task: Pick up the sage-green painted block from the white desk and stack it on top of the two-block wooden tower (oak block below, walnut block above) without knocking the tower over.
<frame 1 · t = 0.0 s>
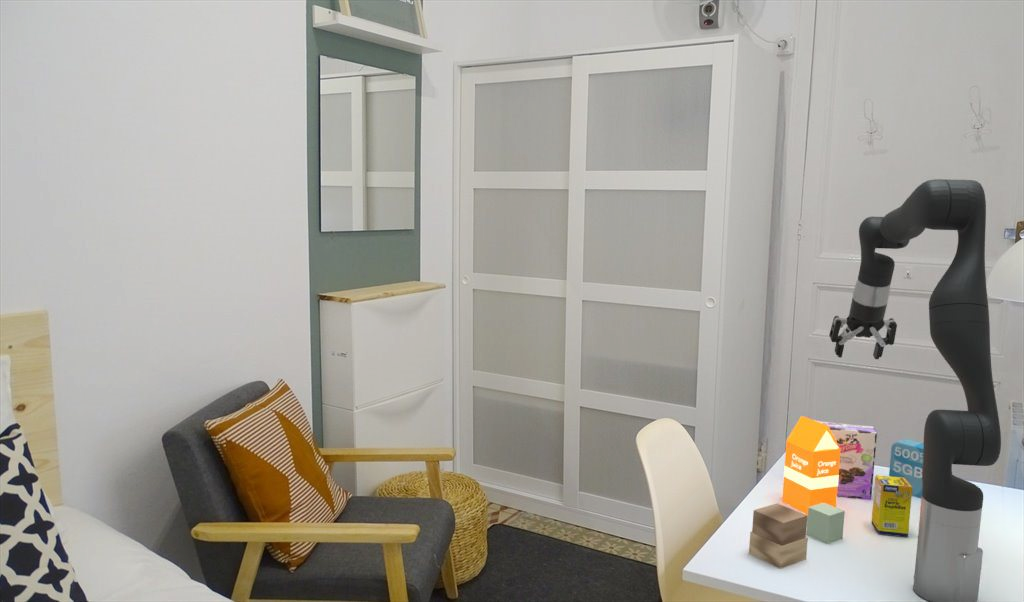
hand: (857, 356, 191), 31 cm above the table, tool tilted 20°, fingers open, 8 cm apart
orange juice: (808, 507, 178), on the table
data package: (916, 494, 188), on the table
walnut block: (778, 535, 152), point 4 cm above the table
candy box: (838, 493, 187), on the table
oak block: (777, 557, 153), on the table
green block: (824, 536, 162), on the table
supplement box: (889, 531, 166), on the table
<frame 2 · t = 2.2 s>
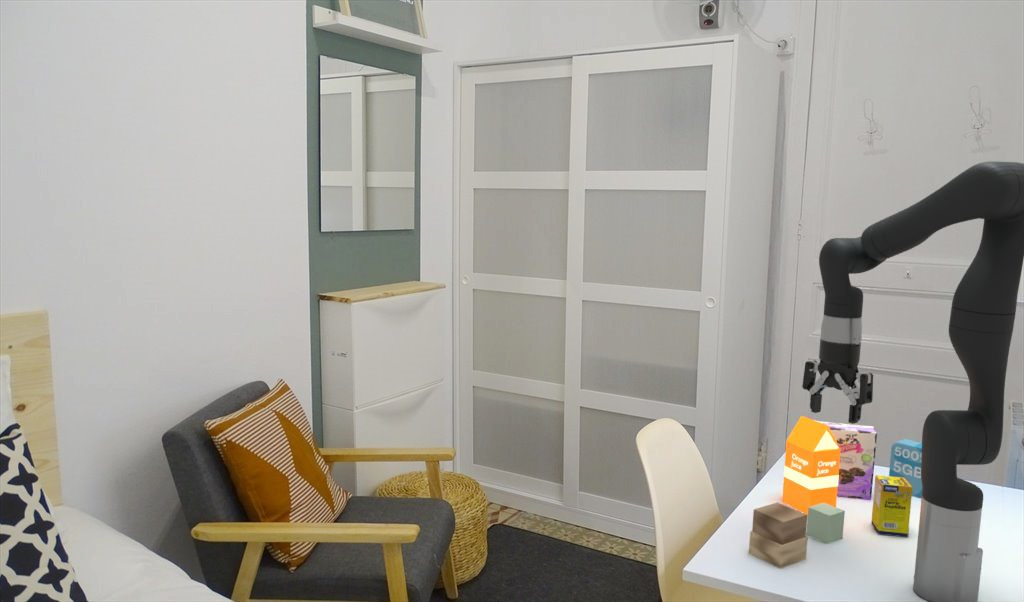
hand: (834, 417, 159), 25 cm above the table, tool pointing down, fingers open, 8 cm apart
walnut block: (778, 534, 152), point 4 cm above the table, touching oak block
oak block: (777, 556, 153), on the table, touching walnut block
everything else where it was.
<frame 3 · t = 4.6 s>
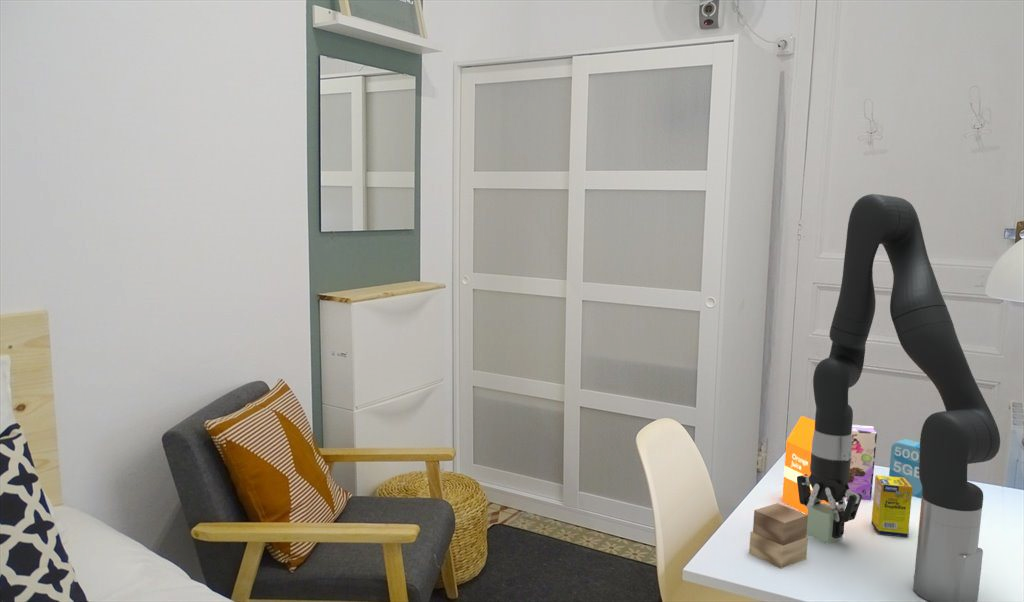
hand: (824, 532, 162), 1 cm above the table, tool pointing down, fingers closed on green block, 5 cm apart
green block: (824, 536, 162), on the table, touching gripper
everything else where it was.
when the fingers open (11 cm above the table, at t = 10.5 s): green block drops 1 cm, resting on walnut block.
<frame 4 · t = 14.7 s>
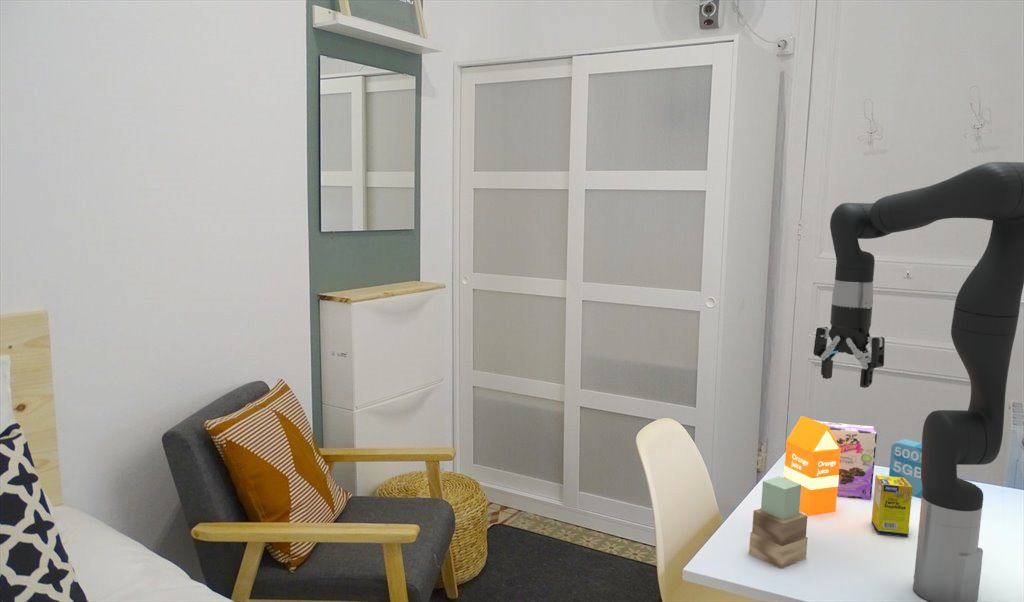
hand: (845, 382, 160), 32 cm above the table, tool pointing down, fingers open, 8 cm apart
walnut block: (778, 535, 152), point 4 cm above the table, touching green block, oak block
green block: (779, 512, 151), point 9 cm above the table, touching walnut block
everything else where it was.
at the end: green block 0.1 cm off-centre on the oak block, point 9.0 cm above the oak block's base; green block tilted 0°; walnut block moved 0.5 cm from its start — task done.
